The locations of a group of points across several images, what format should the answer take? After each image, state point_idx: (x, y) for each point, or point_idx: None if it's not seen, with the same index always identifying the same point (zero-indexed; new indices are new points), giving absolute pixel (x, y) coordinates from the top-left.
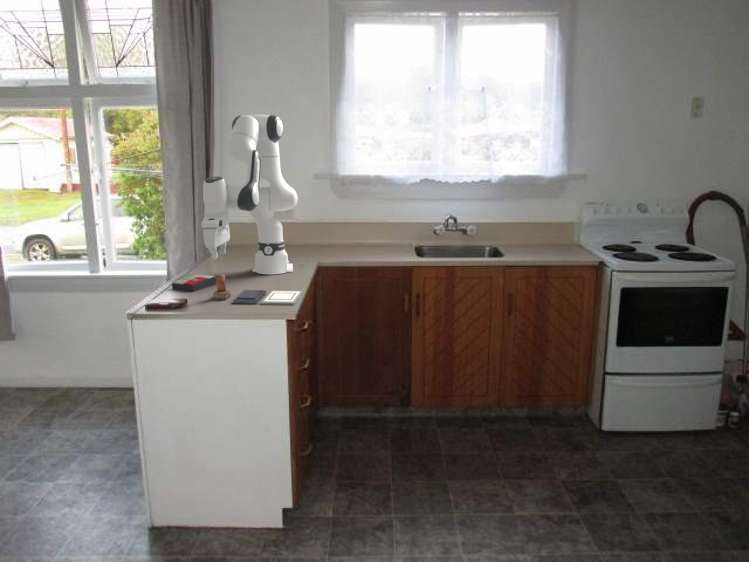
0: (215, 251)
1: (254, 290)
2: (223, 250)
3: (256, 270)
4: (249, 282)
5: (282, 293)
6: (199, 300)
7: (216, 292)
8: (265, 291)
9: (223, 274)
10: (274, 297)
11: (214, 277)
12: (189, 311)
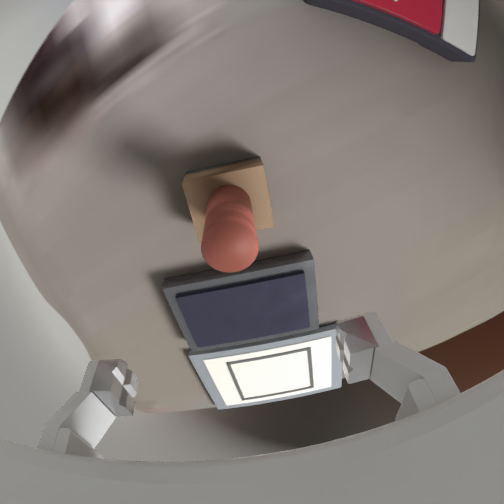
0: (81, 437)
1: (300, 307)
2: (346, 374)
3: None
4: (474, 190)
5: (305, 366)
6: (157, 116)
7: (195, 195)
8: (312, 328)
9: (252, 257)
10: (254, 367)
11: (466, 59)
12: (24, 187)
